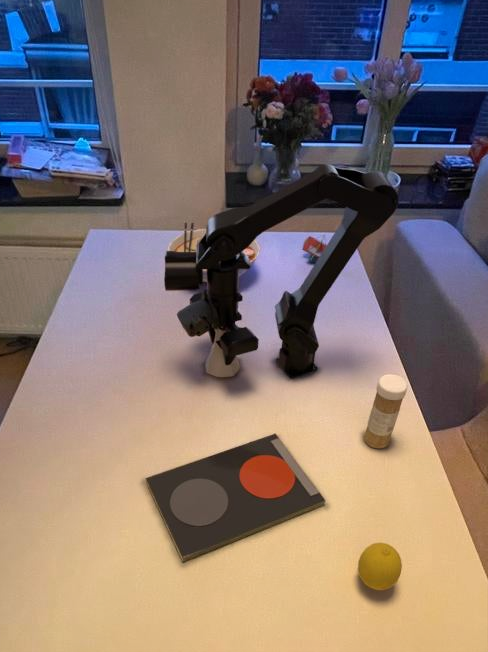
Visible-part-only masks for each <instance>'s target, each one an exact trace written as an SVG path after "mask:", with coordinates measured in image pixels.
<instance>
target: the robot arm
mask: <svg viewBox="0 0 488 652" xmlns="http://www.w3.org/2000/svg"><path fill="white" fill-rule="evenodd" d="M326 200H328V201H329V200H330V201H332V202H336V203H337V204H339V205H342V206H344V207H345V208H344V211H343V212H344V213H343V217H342V220H341V222H340V224H339V225H338V227H337V229H336V231H335V232H334V233H333V235H332V236H331V238H330V239H329V241H328V243H326V245H327V246H326V248H325V249H324V251H323V252H322V254H321V255H320V257H319V259H318V258H317V259H316V262H314V265H313V267H312V268H311V269H310V271H309V273H308V274H307V276H306V277H305V279H304V280H303V282H302V284H301V286H300V287H299V288H298V289H297V290H295V291H293V292H292V293H290V292H288V291H287V290H285V291H284V292H283V293H282V296H281V298H280V300H279V301H278V302H277V303H276V304H275V305H274V309H275V311H274V312H275V313H274V318H275V323H276V328H277V333H278V337H279V339H280V341H281V347H280V348H279V350H278V351H279V352H278V358H275V363H277V365H278V366H279V368H281V370H282V371H283V372H284V373H285V374H286V376H287V377H289V378H290V379H295V378H298V377H301V376H304V375H308V374H311V373H314V372H318V370H319V367H318V366H317V365H316V364H315V359H316V353H317V351H318V349H319V347H320V343H319V340H318V337H317V333H316V330H315V326H314V324H315V321H316V318H317V312H318V310H319V309H318V308H319V306H320V304H321V303H322V301H323V299H324V298H325V297H326V295H327V294H328V292H329V291H330V289H331V288H332V286H333V285H334V284H335V282H336V281H337V279H338V278H339V276H340V275H341V273H342V271H343V270H344V269H345V268H346V266H347V264H348V263H349V262H350V260H351V259H352V257H353V255H354V254H355V253H356V251H357V250H358V248H359V247H360V245H361V244H362V242H363V241H364V240H365V239H366V238H367V237H369V236H370V235H372V234H374V233H375V232H377V231H378V230H380V229H381V228H382V227H383V226H384V225H385V224H386V223H387V221H389V219H390V218H391V217H392V216H393V215H394V214H395V212H396V210H397V209H398V207H399V202H400V201H399V195H398V193H397V190H396V188H395V187H394V186H393V185H392V182H391V181H390V180H389V179H388V177H387V176H386V175H385V174H384V173H383V172H381V171H379V170H372V171H371V170H370V171H369V172H368V171H367V172H364V171H362V170H361V171H360V170H357V169H353V168H345V167H344V168H343V167H339V166H334V165H332V164H329V163H324V164H320V165H319V166H318V167H317V168H315V169H314V170H313V171H311V172H310V173H308V174H306V175H304V176H302V177H300V178H298V179H297V180H295V181H293V182H291V183H289V184H287V185H285V186H284V187H282V188H281V189H278V190H276V191H275V192H273V193H271V194H269V195H267V196H265V197H264V198H261V199H260V200H259V201H256V202H255V203H253V204H250V205H247V206H244V207H243V206H242V207H233V208H230V209H227V210H224V211H221V212H218V213H216V214H214V215H213V216H211V217H210V218H209V219H208V221H207V224H206V227H205V229H206V233H205V234H204V235H203V237H202V238H201V239H200V241H199V242H198V243H197V245H196V252H175V251H168V250H165V252H164V277H163V280H164V290H165V291H166V292H172V291H173V292H174V291H178V292H179V291H181V292H182V291H189V292H190V291H197V290H200V286H203V285H204V282H203V269H207V282H206V289H203V290H202V291H201V292H199V293H198V292H197V293H194V294H192V296H191V297H190V298H189V304H188V305H187V306H185V307H184V308H181V309H180V310H178V311H177V313H176V317H177V319H178V321H179V323H180V325H181V327H182V329H184V331H185V332H186V334H187V336H188V337H190V338H193V337H194V338H195V337H202V336H203V335H205V334H207V333H208V335H209V339H210V342H211V345H212V346H213V344H214V340H215V335H216V331H215V328H218V329H219V330H220V331H221V332H222V331H226V332H224V333H223V335H222V336H221V337H220V340H218V341H215V342H216V343H217V344H218V346H219V347H220V348H221V349H222V350H223V356H224V362H225V365H226V366H227V365H230V364H231V363H232V362H233V360H234V359H235V357H236V356H237V357H238V356H241V355H244V354H247V353H251V352H255V351H258V349H259V340H260V339H259V338H258V337H257V336H256V335H255V333H254V332H253V331H252V330H251V329H250V328H248V327H247V326H244V327H241V326H238V324H237V323H236V322H239V321H242V320H243V314H241V312H240V311H239V302H243V298H244V296H243V295H242V293H240V291H239V290H240V289H239V288H240V285H239V284H240V283H239V282H240V276H239V269H248V270H250V269H251V267H250V260H249V257H248V256H247V255H246V254H244V253H243V250H245V249H246V248H247V247H248V246H249V245H250V244H251V243H252V242H253V241H254V240H256V239H257V237H259V236H260V235H261V234H263V233H264V232H266V231H268V230H270V229H272V228H274V227H276V226H278V225H280V224H281V223H283V222H285V221H287V220H289V219H291V218H293V217H294V216H296V215H298V214H300V213H302V212H304V211H306V210H308V209H309V208H312V207H314V206H316V205H317V204H319V203H321V202H324V201H326Z"/></svg>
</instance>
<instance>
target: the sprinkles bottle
mask: <svg viewBox="0 0 488 652" xmlns="http://www.w3.org/2000/svg"><path fill="white" fill-rule="evenodd" d="M407 390H408V382H407V381H406V379H405V378H403V377H402V376H400V375H397V374H389V373H388V374H385V375H381V376H380V378H379V379H378V382H377V384H376V393H375V397H374V400H373V404H372V406H371V410H370V413H369V417H368V421H367V426H366V429H365V432H364V434H363V441H364V442H365V443H366V444H367V445H368V446H369V447H371V448H373V449H384V448H386V447H388V446H389V444H390V442H391V436H392V433H393V431H394V429H395V426H396V422H397V420H398V417H399V414H400V411H401V406H402V402H403V399H405V396H406V395H407Z"/></svg>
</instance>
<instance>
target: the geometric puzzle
mask: <svg viewBox="0 0 488 652" xmlns="http://www.w3.org/2000/svg"><path fill="white" fill-rule="evenodd" d="M317 236H319V237H317V238H315V237H313V236H311V235H309V236H308V237H306V238H305V240H304V241H303V244H302V249H301V250H302V251H303V253H307V255H308V257H309V255H310V256H311V258H310V259H309V260H308V263H309V264H312V263H315V260H313V258H315V259H317V260H318V259H319V257H320V255H321V254H322V252H323V251H324V249H325V248H326V246H327V241H326V240H325V242H323V240H324V239H325V238H327V237H326V234H324V235H322V239H321V240H318V239H319V238H320V235H317ZM312 260H313V261H312Z"/></svg>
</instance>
